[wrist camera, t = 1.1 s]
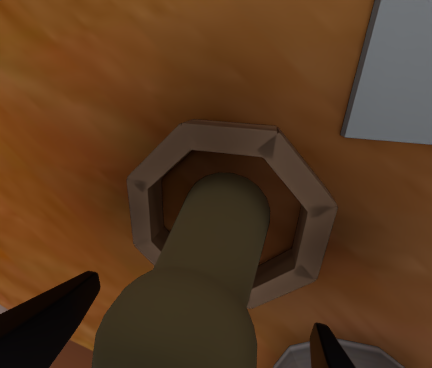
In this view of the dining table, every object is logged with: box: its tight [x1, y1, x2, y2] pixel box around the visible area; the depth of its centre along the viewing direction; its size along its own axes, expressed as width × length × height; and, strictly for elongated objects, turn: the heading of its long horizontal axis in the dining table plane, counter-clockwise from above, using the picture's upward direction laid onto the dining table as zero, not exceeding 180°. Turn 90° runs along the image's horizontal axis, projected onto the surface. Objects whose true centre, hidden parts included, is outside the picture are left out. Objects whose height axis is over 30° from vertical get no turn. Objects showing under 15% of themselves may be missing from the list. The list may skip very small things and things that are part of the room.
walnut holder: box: [127, 119, 338, 309], centre depth 15 cm, size 12×12×2 cm
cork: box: [92, 172, 270, 368], centre depth 11 cm, size 6×6×11 cm
